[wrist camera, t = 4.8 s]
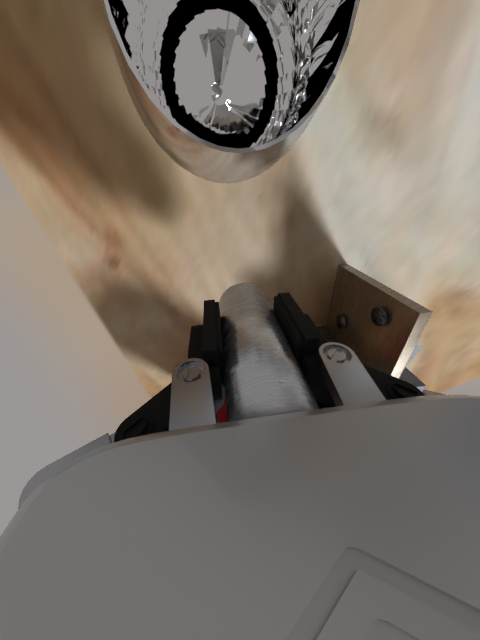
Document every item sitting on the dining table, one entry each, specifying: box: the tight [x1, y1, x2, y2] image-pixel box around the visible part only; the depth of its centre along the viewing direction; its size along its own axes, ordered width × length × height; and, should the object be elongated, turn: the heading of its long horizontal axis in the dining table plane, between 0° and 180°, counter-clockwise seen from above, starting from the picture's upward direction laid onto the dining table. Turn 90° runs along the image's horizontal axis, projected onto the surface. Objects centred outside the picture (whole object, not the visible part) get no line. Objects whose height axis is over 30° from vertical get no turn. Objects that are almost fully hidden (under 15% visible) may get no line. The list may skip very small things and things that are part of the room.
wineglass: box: [101, 0, 360, 183], centre depth 9 cm, size 6×6×12 cm
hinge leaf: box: [326, 264, 432, 378], centre depth 20 cm, size 13×6×9 cm, turn 3°
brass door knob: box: [219, 283, 319, 422], centre depth 9 cm, size 5×5×10 cm
